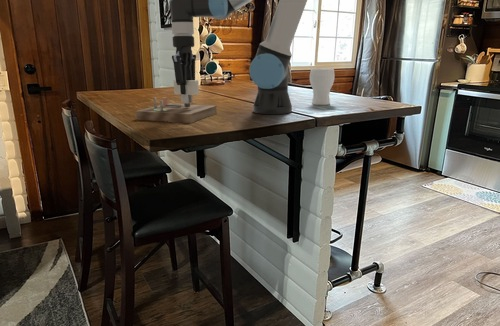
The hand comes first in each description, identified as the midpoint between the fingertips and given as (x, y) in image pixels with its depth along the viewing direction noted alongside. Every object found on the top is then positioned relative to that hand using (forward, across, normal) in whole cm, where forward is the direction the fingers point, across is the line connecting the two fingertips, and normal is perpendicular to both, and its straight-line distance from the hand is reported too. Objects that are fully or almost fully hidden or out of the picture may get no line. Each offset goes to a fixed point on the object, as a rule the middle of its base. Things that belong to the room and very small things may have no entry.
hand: (187, 102), depth 142 cm
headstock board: (+5, +2, -3) cm, 6 cm away
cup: (+5, -45, +41) cm, 61 cm away
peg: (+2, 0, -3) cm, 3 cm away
